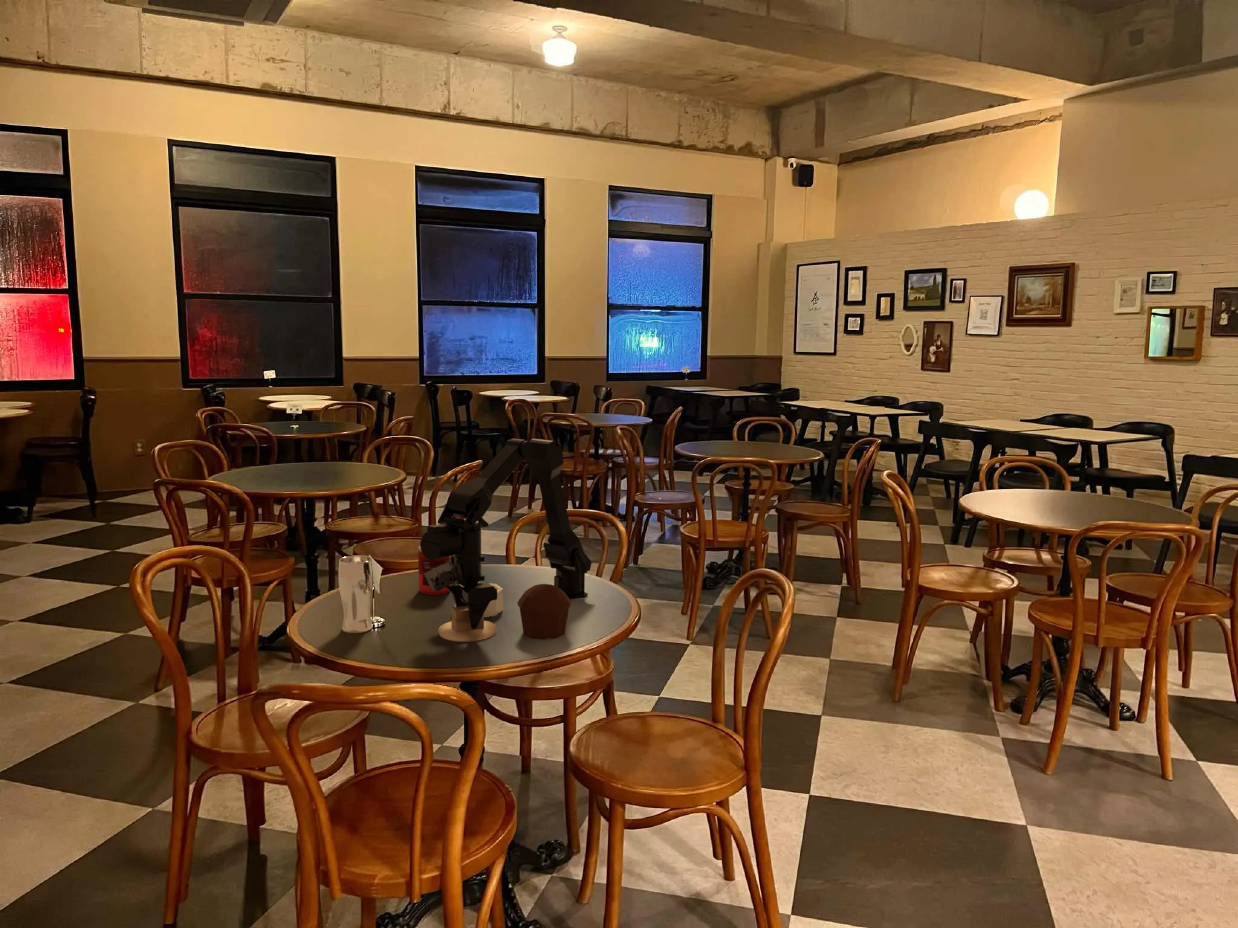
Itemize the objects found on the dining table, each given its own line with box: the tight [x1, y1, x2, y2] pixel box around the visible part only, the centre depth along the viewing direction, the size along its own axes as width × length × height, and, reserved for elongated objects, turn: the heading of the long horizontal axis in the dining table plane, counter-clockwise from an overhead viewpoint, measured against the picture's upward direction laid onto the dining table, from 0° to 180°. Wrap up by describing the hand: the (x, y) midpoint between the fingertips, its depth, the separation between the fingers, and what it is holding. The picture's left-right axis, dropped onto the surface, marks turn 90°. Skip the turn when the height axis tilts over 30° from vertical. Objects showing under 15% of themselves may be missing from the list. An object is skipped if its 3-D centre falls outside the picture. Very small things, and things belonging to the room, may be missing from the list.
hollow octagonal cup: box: [454, 581, 504, 618], centre depth 198 cm, size 10×10×5 cm
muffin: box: [516, 583, 572, 640], centre depth 184 cm, size 12×11×10 cm
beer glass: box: [338, 554, 374, 634], centre depth 184 cm, size 7×7×15 cm
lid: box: [438, 606, 498, 643], centre depth 184 cm, size 12×12×6 cm
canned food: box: [417, 545, 450, 596], centre depth 212 cm, size 8×8×11 cm
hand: (467, 623), depth 184 cm, fingers open, 7 cm apart
